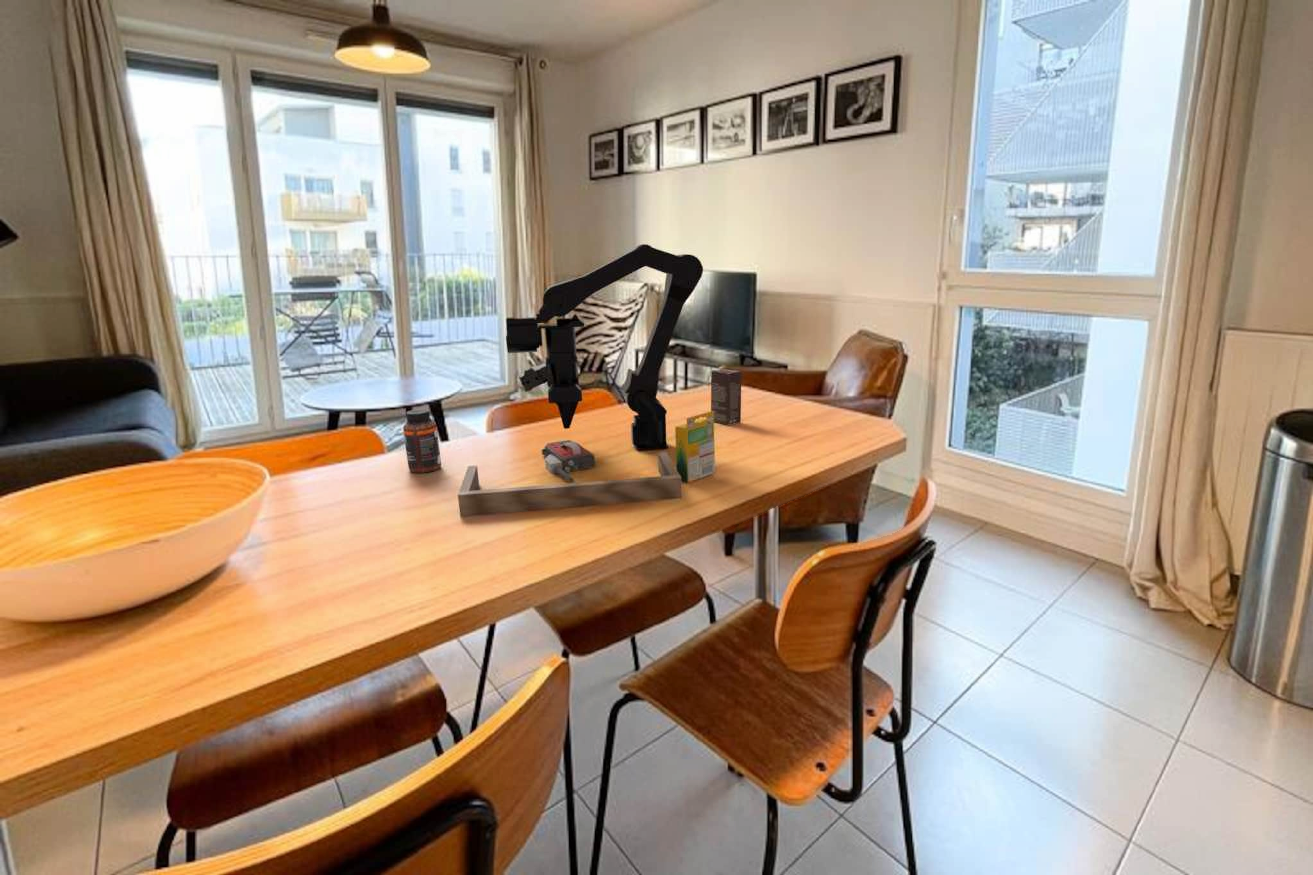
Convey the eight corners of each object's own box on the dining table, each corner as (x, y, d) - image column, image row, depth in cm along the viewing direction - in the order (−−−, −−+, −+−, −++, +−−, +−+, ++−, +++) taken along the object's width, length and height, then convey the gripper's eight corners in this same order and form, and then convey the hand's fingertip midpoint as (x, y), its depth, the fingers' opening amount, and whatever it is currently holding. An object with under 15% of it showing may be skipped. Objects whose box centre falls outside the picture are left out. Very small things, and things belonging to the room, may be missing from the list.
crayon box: (703, 469, 122) (702, 408, 119) (715, 473, 120) (715, 410, 117) (675, 479, 118) (674, 415, 114) (688, 483, 115) (687, 418, 112)
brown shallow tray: (666, 470, 123) (666, 452, 122) (681, 498, 109) (681, 477, 108) (470, 485, 118) (468, 466, 117) (460, 516, 104) (457, 495, 103)
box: (742, 422, 155) (742, 370, 151) (728, 426, 152) (728, 373, 149) (723, 417, 159) (723, 367, 156) (709, 421, 156) (709, 370, 153)
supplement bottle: (448, 466, 128) (441, 408, 125) (426, 475, 123) (418, 416, 120) (424, 462, 131) (417, 406, 128) (401, 472, 126) (393, 413, 123)
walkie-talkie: (532, 459, 133) (566, 489, 116) (530, 437, 132) (564, 464, 114) (573, 452, 137) (612, 480, 119) (572, 431, 135) (611, 456, 118)
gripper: (521, 346, 138) (527, 419, 142) (517, 360, 120) (524, 443, 124) (575, 343, 139) (579, 416, 144) (579, 357, 122) (584, 439, 126)
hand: (566, 428), depth 134 cm, fingers closed
